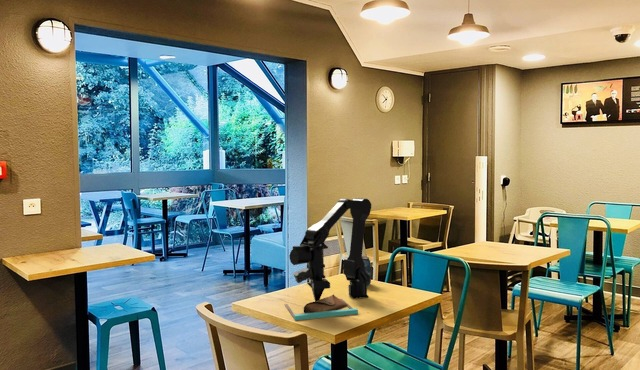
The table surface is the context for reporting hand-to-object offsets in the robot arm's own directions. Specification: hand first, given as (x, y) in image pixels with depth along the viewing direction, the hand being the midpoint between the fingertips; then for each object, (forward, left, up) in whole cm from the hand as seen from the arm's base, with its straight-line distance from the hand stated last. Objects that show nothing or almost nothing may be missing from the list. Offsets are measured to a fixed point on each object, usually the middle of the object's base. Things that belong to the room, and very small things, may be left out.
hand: (316, 302), depth 202 cm
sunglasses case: (-3, +4, -2) cm, 6 cm away
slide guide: (0, +3, -2) cm, 4 cm away
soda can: (-27, -27, -2) cm, 38 cm away
